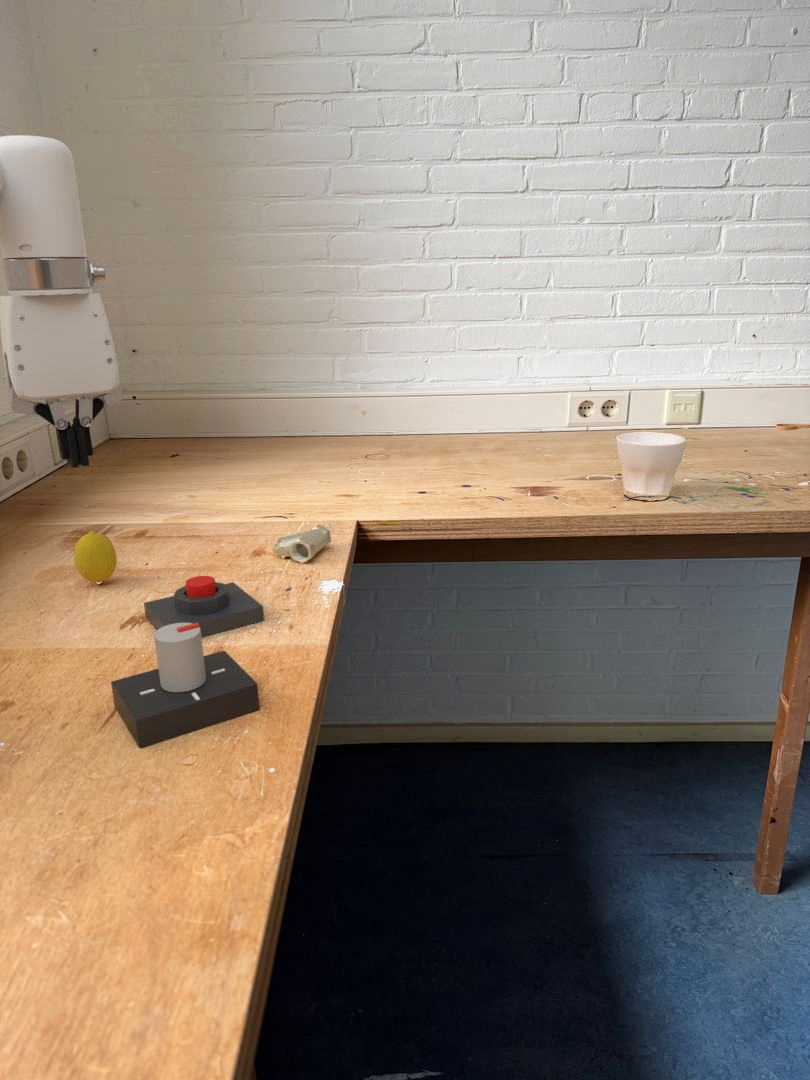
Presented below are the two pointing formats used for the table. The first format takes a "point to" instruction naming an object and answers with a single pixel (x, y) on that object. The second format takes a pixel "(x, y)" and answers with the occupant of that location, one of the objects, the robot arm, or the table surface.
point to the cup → (649, 461)
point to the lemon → (95, 557)
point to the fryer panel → (184, 701)
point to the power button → (200, 586)
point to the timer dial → (180, 657)
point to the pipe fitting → (303, 544)
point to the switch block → (207, 610)
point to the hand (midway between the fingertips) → (78, 464)
